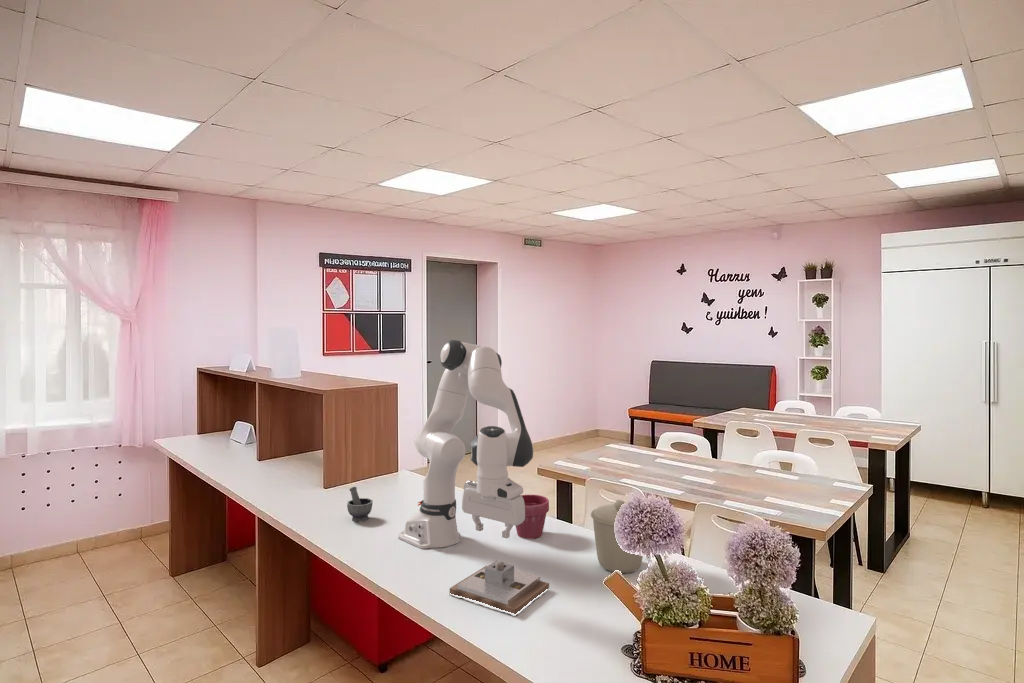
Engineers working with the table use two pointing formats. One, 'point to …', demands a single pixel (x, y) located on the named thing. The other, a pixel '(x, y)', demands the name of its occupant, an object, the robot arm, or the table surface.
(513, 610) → the post base
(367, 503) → the mortar and pestle
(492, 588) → the flange plate
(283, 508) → the table surface
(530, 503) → the plant pot
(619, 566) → the canister
